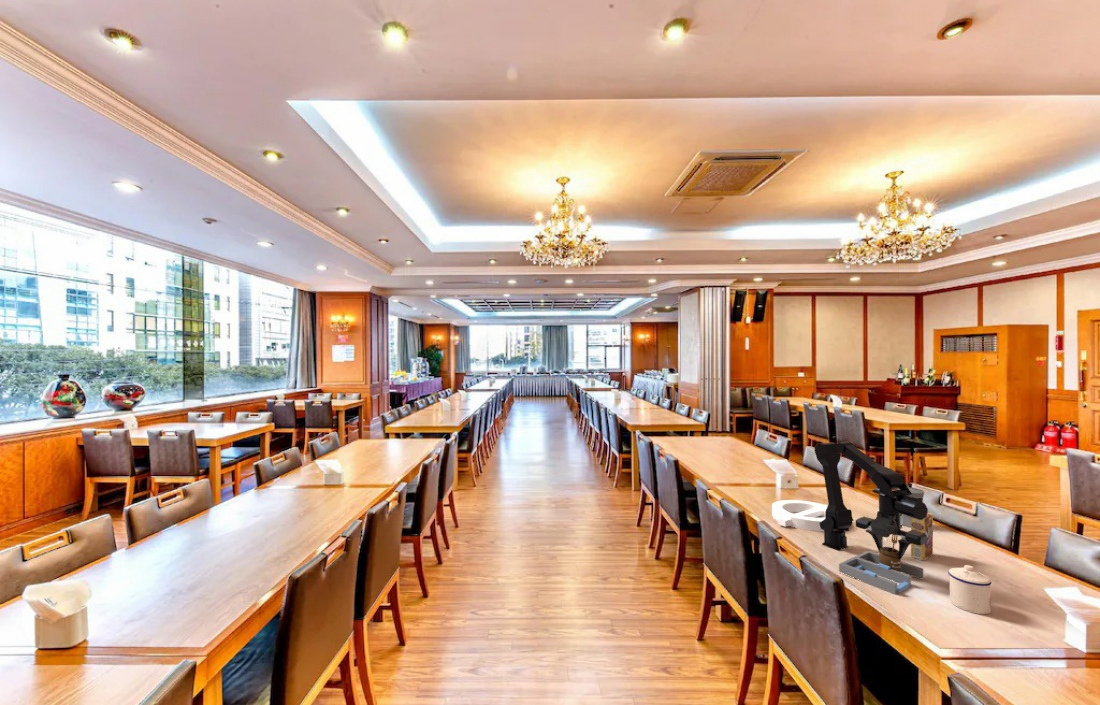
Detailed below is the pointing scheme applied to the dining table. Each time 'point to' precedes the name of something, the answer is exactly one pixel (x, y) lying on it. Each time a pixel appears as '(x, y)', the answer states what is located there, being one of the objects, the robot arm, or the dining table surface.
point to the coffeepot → (916, 493)
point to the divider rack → (880, 572)
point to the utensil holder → (890, 556)
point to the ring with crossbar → (799, 514)
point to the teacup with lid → (970, 590)
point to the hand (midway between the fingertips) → (890, 555)
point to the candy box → (927, 528)
